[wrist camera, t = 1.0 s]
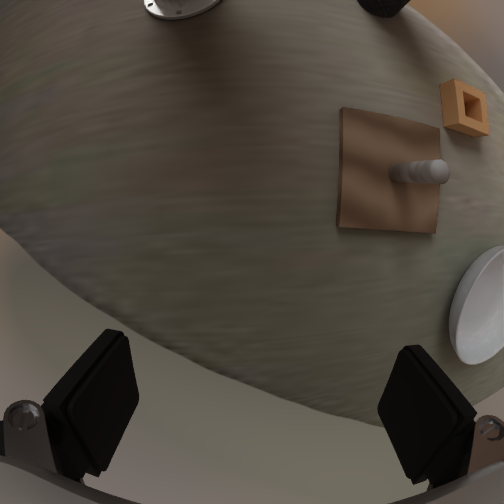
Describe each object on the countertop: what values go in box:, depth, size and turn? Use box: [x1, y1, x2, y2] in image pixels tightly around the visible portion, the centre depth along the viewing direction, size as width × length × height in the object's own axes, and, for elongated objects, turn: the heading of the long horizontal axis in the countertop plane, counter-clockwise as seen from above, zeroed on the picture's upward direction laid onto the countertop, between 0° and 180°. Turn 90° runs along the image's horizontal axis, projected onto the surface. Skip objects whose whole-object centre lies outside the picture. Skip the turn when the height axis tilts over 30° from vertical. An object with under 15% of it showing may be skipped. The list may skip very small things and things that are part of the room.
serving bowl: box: [449, 245, 504, 365], centre depth 34 cm, size 21×21×7 cm
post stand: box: [336, 107, 450, 234], centre depth 27 cm, size 15×15×12 cm
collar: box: [440, 79, 489, 137], centre depth 28 cm, size 7×7×4 cm
